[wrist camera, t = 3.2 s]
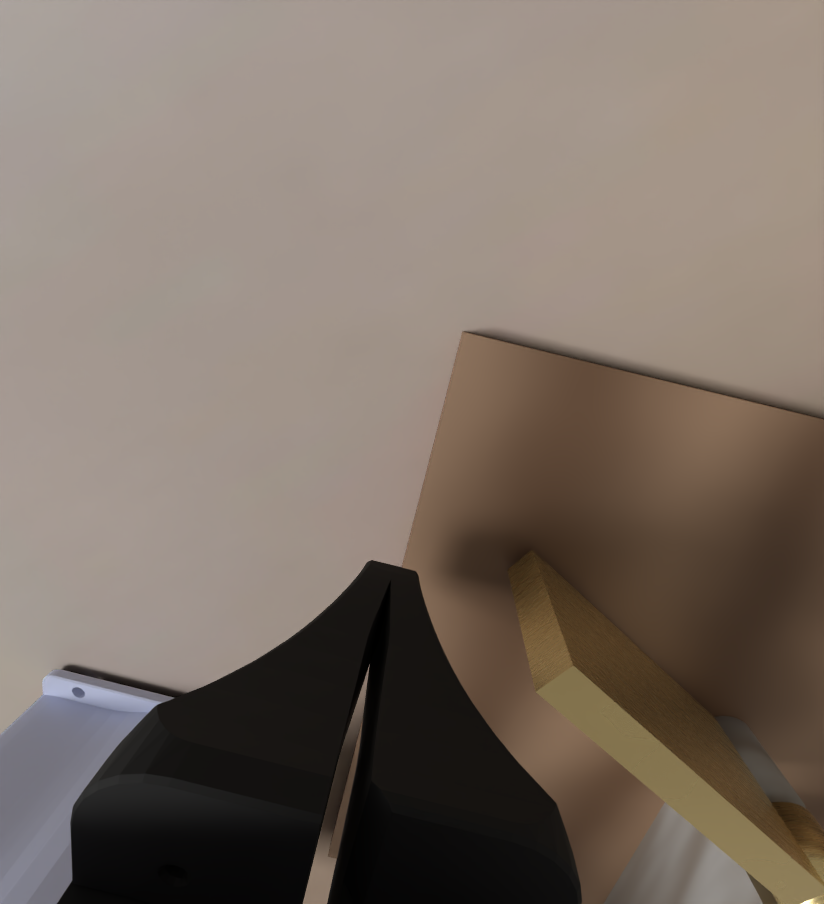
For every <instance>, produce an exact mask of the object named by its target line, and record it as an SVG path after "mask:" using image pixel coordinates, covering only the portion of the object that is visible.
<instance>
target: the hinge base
mask: <svg viewBox="0 0 824 904" xmlns="http://www.w3.org/2000/svg"><path fill="white" fill-rule="evenodd" d="M531 550H533V551H534V552H535V553H537V554H538V555H539V556H540V557H541V558H542V559H543V560H544V561H545V562H546V563H547V564H548V565H550V566H551V567H552V568H553V569H554V570H555V571H556V572H557V573H558V574H559V575H560V576H561V577H563V578H564V579H565V580H566V581H567V582H568V583H569V584H570V585H571V586H572V587H573V588H575V589H576V590H577V591H578V592H579V593H580V594H581V595H582V596H583V597H584V598H585V599H586V600H588V601H589V602H590V603H591V604H592V605H593V606H594V607H595V608H596V609H597V610H598V611H599V612H601V613H602V614H603V615H604V616H605V617H606V618H607V619H608V620H609V621H610V622H611V623H612V624H614V625H615V626H616V627H617V628H618V629H619V630H620V631H621V632H622V633H623V634H624V635H626V636H627V637H628V638H629V639H630V640H631V641H632V642H633V643H634V644H635V645H636V646H637V647H639V648H640V649H641V650H642V651H643V652H644V653H645V654H646V655H647V656H648V657H649V658H650V659H652V660H653V661H654V662H655V663H656V664H657V665H658V666H659V667H660V668H661V669H662V670H663V671H665V672H666V673H667V674H668V675H669V676H670V677H671V678H672V679H673V680H674V681H675V682H677V683H678V684H679V685H680V686H681V687H682V688H683V689H684V690H685V691H686V692H687V693H688V694H690V695H691V696H692V697H693V698H694V699H695V700H696V701H697V702H698V703H699V704H700V705H701V706H703V707H704V708H705V709H706V710H707V711H708V712H709V713H710V714H711V715H712V716H713V717H714V718H716V720H717V721H718V723H719V724H720V726H721V727H722V729H723V730H724V732H725V733H726V735H727V736H728V738H729V739H730V741H731V742H732V744H733V746H734V747H735V749H736V750H737V752H738V753H739V755H740V756H741V758H742V759H743V761H744V762H745V764H746V765H747V767H748V768H749V770H750V771H751V773H752V774H753V776H754V777H755V779H756V780H757V782H758V783H759V785H760V786H761V788H762V789H763V791H764V792H765V794H766V796H767V797H768V799H769V800H770V802H790V803H795V804H798V805H800V806H803V807H804V808H806V809H807V810H809V811H810V813H811V814H812V815H813V816H814V818H815V819H816V821H817V822H818V823H819V825H820V826H821V827H822V829H823V830H824V419H822V418H818V417H814V416H809V415H805V414H801V413H797V412H793V411H789V410H785V409H781V408H777V407H772V406H768V405H764V404H760V403H756V402H752V401H748V400H744V399H740V398H735V397H731V396H727V395H723V394H719V393H715V392H711V391H707V390H703V389H698V388H694V387H690V386H686V385H682V384H678V383H674V382H670V381H666V380H661V379H657V378H653V377H649V376H645V375H641V374H637V373H633V372H629V371H624V370H620V369H616V368H612V367H608V366H604V365H600V364H596V363H591V362H587V361H583V360H579V359H575V358H571V357H567V356H563V355H559V354H554V353H550V352H546V351H542V350H538V349H534V348H530V347H526V346H522V345H517V344H513V343H509V342H505V341H501V340H497V339H493V338H489V337H485V336H480V335H476V334H472V333H468V332H464V331H463V332H462V336H461V340H460V344H459V348H458V351H457V355H456V359H455V363H454V367H453V371H452V375H451V379H450V382H449V386H448V390H447V394H446V398H445V402H444V406H443V410H442V413H441V417H440V421H439V425H438V429H437V433H436V437H435V440H434V444H433V448H432V452H431V456H430V460H429V464H428V468H427V471H426V475H425V479H424V483H423V487H422V491H421V495H420V499H419V502H418V506H417V510H416V514H415V518H414V522H413V526H412V530H411V533H410V537H409V541H408V545H407V549H406V553H405V557H404V561H403V564H402V568H406V569H410V570H414V571H416V572H417V574H418V575H419V581H420V586H421V590H422V594H423V597H424V601H425V604H426V607H427V610H428V613H429V616H430V619H431V621H432V624H433V627H434V629H435V632H436V634H437V637H438V639H439V641H440V644H441V646H442V648H443V650H444V652H445V655H446V657H447V659H448V661H449V663H450V665H451V667H452V668H453V670H454V672H455V674H456V676H457V678H458V679H459V681H460V683H461V685H462V686H463V688H464V690H465V691H466V693H467V694H468V696H469V698H470V699H471V701H472V703H473V704H474V705H475V707H476V708H477V710H478V711H479V712H480V714H481V715H482V717H483V718H484V720H485V721H486V722H487V724H488V725H489V727H490V728H491V729H492V731H493V732H494V733H495V735H496V736H497V737H498V738H499V740H500V741H501V742H502V743H503V744H504V746H505V747H506V748H507V749H508V751H509V752H510V753H511V754H512V755H513V757H514V758H515V759H516V760H517V761H518V763H519V764H520V765H521V766H522V767H523V768H524V769H525V770H526V771H527V772H528V773H529V774H530V775H531V776H532V778H533V779H534V780H535V781H536V782H537V783H538V784H539V785H540V786H541V787H542V788H543V789H544V790H545V791H546V792H547V794H548V795H549V796H550V797H551V798H552V799H553V800H554V801H555V802H556V803H557V806H558V809H559V812H560V815H561V818H562V821H563V823H564V826H565V829H566V832H567V835H568V838H569V842H570V845H571V848H572V851H573V855H574V858H575V863H576V867H577V871H578V876H579V880H580V884H581V895H582V904H778V903H777V901H776V900H775V898H774V896H773V894H772V893H771V892H770V891H769V890H768V889H767V888H765V887H764V886H763V885H762V884H761V883H760V882H758V881H757V880H756V879H755V878H754V877H753V876H751V875H750V874H749V873H748V872H747V871H746V870H744V869H743V868H742V867H741V866H740V865H738V864H737V863H736V862H735V861H734V860H733V859H731V858H730V857H729V856H728V855H727V854H726V853H724V852H723V851H722V850H721V849H720V848H718V847H717V846H716V845H715V844H714V843H713V842H711V841H710V840H709V839H708V838H707V837H706V836H704V835H703V834H702V833H701V832H700V831H698V830H697V829H696V828H695V827H694V826H693V825H691V824H690V823H689V822H688V821H687V820H686V819H684V818H683V817H682V816H681V815H680V814H678V813H677V812H676V811H675V810H674V809H673V808H671V807H670V806H669V805H668V804H667V803H666V802H664V801H663V800H662V799H661V798H660V797H659V796H657V795H656V794H655V793H654V792H653V791H651V790H650V789H649V788H648V787H647V786H646V785H644V784H643V783H642V782H641V781H640V780H639V779H637V778H636V777H635V776H634V775H633V774H631V773H630V772H629V771H628V770H627V769H626V768H624V767H623V766H622V765H621V764H620V763H619V762H617V761H616V760H615V759H614V758H613V757H611V756H610V755H609V754H608V753H607V752H606V751H604V750H603V749H602V748H601V747H600V746H599V745H597V744H596V743H595V742H594V741H593V740H591V739H590V738H589V737H588V736H587V735H586V734H584V733H583V732H582V731H581V730H580V729H579V728H577V727H576V726H575V725H574V724H573V723H572V722H570V721H569V720H568V719H567V718H566V717H564V716H563V715H562V714H561V713H560V712H559V711H557V710H556V709H555V708H554V707H553V706H552V705H550V704H549V703H548V702H547V701H546V700H544V699H543V698H542V697H541V696H540V695H539V694H537V693H536V692H535V687H534V683H533V679H532V674H531V670H530V666H529V661H528V657H527V653H526V648H525V644H524V640H523V635H522V631H521V627H520V622H519V618H518V614H517V609H516V605H515V601H514V596H513V592H512V588H511V583H510V579H509V575H508V569H509V568H510V567H511V566H513V565H514V564H515V563H516V562H517V561H519V560H520V559H521V558H522V557H524V556H525V555H526V554H527V553H528V552H530V551H531ZM362 722H363V719H362ZM361 730H362V723H361V727H360V731H359V735H358V739H357V743H356V746H355V750H354V754H353V758H352V762H351V766H350V770H349V774H348V777H347V781H346V785H345V789H344V793H343V797H342V801H341V805H340V808H339V812H338V816H337V820H336V824H335V828H334V832H333V836H332V840H331V845H330V849H329V854H328V856H329V857H333V858H337V856H338V851H339V846H340V842H341V837H342V832H343V828H344V823H345V818H346V814H347V809H348V804H349V799H350V795H351V790H352V785H353V780H354V776H355V771H356V765H357V759H358V753H359V746H360V738H361Z"/></svg>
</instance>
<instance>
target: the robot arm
mask: <svg viewBox="0 0 824 904" xmlns="http://www.w3.org/2000/svg"><path fill="white" fill-rule="evenodd" d="M369 664H370V667H369ZM368 667H369V675H368V683H367V690H366V698H365V706H364V714H363V722H362V730H361V738H360V746H359V753H358V759H357V765H356V771H355V776H354V780H353V785H352V790H351V795H350V799H349V804H348V809H347V814H346V818H345V823H344V828H343V832H342V837H341V842H340V846H339V851H338V856H337V861H336V865H335V870H334V875H333V879H332V884H331V889H330V893H329V898H328V903H327V904H582V895H581V884H580V880H579V876H578V871H577V867H576V863H575V858H574V855H573V851H572V848H571V845H570V842H569V838H568V835H567V832H566V829H565V826H564V823H563V821H562V818H561V815H560V812H559V809H558V806H557V803H556V802H555V801H554V800H553V799H552V798H551V797H550V796H549V795H548V794H547V792H546V791H545V790H544V789H543V788H542V787H541V786H540V785H539V784H538V783H537V782H536V781H535V780H534V779H533V778H532V776H531V775H530V774H529V773H528V772H527V771H526V770H525V769H524V768H523V767H522V766H521V765H520V764H519V763H518V761H517V760H516V759H515V758H514V757H513V755H512V754H511V753H510V752H509V751H508V749H507V748H506V747H505V746H504V744H503V743H502V742H501V741H500V740H499V738H498V737H497V736H496V735H495V733H494V732H493V731H492V729H491V728H490V727H489V725H488V724H487V722H486V721H485V720H484V718H483V717H482V715H481V714H480V712H479V711H478V710H477V708H476V707H475V705H474V704H473V703H472V701H471V699H470V698H469V696H468V694H467V693H466V691H465V690H464V688H463V686H462V685H461V683H460V681H459V679H458V678H457V676H456V674H455V672H454V670H453V668H452V667H451V665H450V663H449V661H448V659H447V657H446V655H445V652H444V650H443V648H442V646H441V644H440V641H439V639H438V637H437V634H436V632H435V629H434V627H433V624H432V621H431V619H430V616H429V613H428V610H427V607H426V604H425V601H424V597H423V594H422V590H421V586H420V581H419V575H418V574H417V572H416V571H414V570H410V569H406V568H402V567H398V566H394V565H390V564H385V563H381V562H377V561H373V560H371V561H369V562H367V563H366V565H365V566H364V568H363V569H362V571H361V572H360V573H359V575H358V576H357V577H356V578H355V580H354V581H353V582H352V583H351V584H350V585H349V587H348V588H347V589H346V590H345V591H344V592H343V593H342V594H341V595H340V596H339V597H338V598H337V599H336V600H335V601H334V602H333V603H332V604H331V605H330V606H329V607H327V608H326V609H325V610H324V611H323V612H322V613H321V614H320V615H319V616H317V617H316V618H315V619H314V620H313V621H312V622H310V623H309V624H308V625H307V626H305V627H304V628H303V629H301V630H300V631H299V632H297V633H296V634H295V635H293V636H292V637H291V638H289V639H288V640H286V641H285V642H283V643H282V644H280V645H279V646H277V647H276V648H274V649H273V650H271V651H270V652H268V653H266V654H265V655H263V656H262V657H260V658H258V659H257V660H255V661H253V662H251V663H250V664H248V665H246V666H244V667H242V668H240V669H238V670H236V671H234V672H232V673H230V674H228V675H226V676H224V677H223V678H221V679H219V680H217V681H215V682H212V683H210V684H208V685H206V686H204V687H201V688H199V689H196V690H194V691H191V692H189V693H186V694H184V695H181V696H179V697H176V698H174V697H170V696H166V695H162V694H158V693H154V692H150V691H146V690H142V689H138V688H134V687H130V686H126V685H122V684H118V683H114V682H110V681H106V680H102V679H98V678H94V677H90V676H86V675H82V674H78V673H73V672H69V671H65V670H60V669H55V670H52V671H51V672H50V673H49V674H48V675H47V676H46V677H45V678H44V679H43V682H42V684H43V695H42V696H41V697H40V698H39V699H38V700H36V701H35V702H34V703H33V704H32V705H31V706H30V707H29V708H28V709H27V710H26V711H25V712H24V713H23V714H22V715H20V716H19V717H18V718H17V719H16V720H15V721H14V722H13V723H12V724H11V725H10V726H9V727H8V728H7V729H6V730H5V731H3V732H2V733H1V734H0V904H303V900H304V896H305V892H306V888H307V884H308V880H309V875H310V871H311V867H312V863H313V859H314V855H315V851H316V847H317V843H318V839H319V835H320V831H321V827H322V823H323V819H324V815H325V810H326V806H327V802H328V798H329V794H330V790H331V786H332V782H333V778H334V774H335V770H336V766H337V762H338V759H339V755H340V752H341V749H342V745H343V742H344V739H345V736H346V733H347V730H348V727H349V724H350V721H351V718H352V715H353V712H354V709H355V706H356V703H357V700H358V697H359V694H360V691H361V688H362V685H363V682H364V679H365V676H366V673H367V670H368Z"/></svg>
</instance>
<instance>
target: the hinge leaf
mask: <svg viewBox="0 0 824 904" xmlns="http://www.w3.org/2000/svg"><path fill="white" fill-rule="evenodd" d="M508 575H509V579H510V583H511V588H512V592H513V596H514V601H515V605H516V609H517V614H518V618H519V622H520V627H521V631H522V635H523V640H524V644H525V648H526V653H527V657H528V661H529V666H530V670H531V674H532V679H533V683H534V687H535V692H536V693H537V694H539V695H540V696H541V697H542V698H543V699H544V700H546V701H547V702H548V703H549V704H550V705H552V706H553V707H554V708H555V709H556V710H557V711H559V712H560V713H561V714H562V715H563V716H564V717H566V718H567V719H568V720H569V721H570V722H572V723H573V724H574V725H575V726H576V727H577V728H579V729H580V730H581V731H582V732H583V733H584V734H586V735H587V736H588V737H589V738H590V739H591V740H593V741H594V742H595V743H596V744H597V745H599V746H600V747H601V748H602V749H603V750H604V751H606V752H607V753H608V754H609V755H610V756H611V757H613V758H614V759H615V760H616V761H617V762H619V763H620V764H621V765H622V766H623V767H624V768H626V769H627V770H628V771H629V772H630V773H631V774H633V775H634V776H635V777H636V778H637V779H639V780H640V781H641V782H642V783H643V784H644V785H646V786H647V787H648V788H649V789H650V790H651V791H653V792H654V793H655V794H656V795H657V796H659V797H660V798H661V799H662V800H663V801H664V802H666V803H667V804H668V805H669V806H670V807H671V808H673V809H674V810H675V811H676V812H677V813H678V814H680V815H681V816H682V817H683V818H684V819H686V820H687V821H688V822H689V823H690V824H691V825H693V826H694V827H695V828H696V829H697V830H698V831H700V832H701V833H702V834H703V835H704V836H706V837H707V838H708V839H709V840H710V841H711V842H713V843H714V844H715V845H716V846H717V847H718V848H720V849H721V850H722V851H723V852H724V853H726V854H727V855H728V856H729V857H730V858H731V859H733V860H734V861H735V862H736V863H737V864H738V865H740V866H741V867H742V868H743V869H744V870H746V871H747V872H748V873H749V874H750V875H751V876H753V877H754V878H755V879H756V880H757V881H758V882H760V883H761V884H762V885H763V886H764V887H765V888H767V889H768V890H769V891H770V892H771V893H772V894H773V896H774V898H775V900H776V901H777V903H778V904H824V830H823V829H822V827H821V826H820V825H819V823H818V822H817V821H816V819H815V818H814V816H813V815H812V814H811V813H810V811H809V810H807V809H806V808H804V807H803V806H800V805H798V804H795V803H790V802H770V800H769V799H768V797H767V796H766V794H765V792H764V791H763V789H762V788H761V786H760V785H759V783H758V782H757V780H756V779H755V777H754V776H753V774H752V773H751V771H750V770H749V768H748V767H747V765H746V764H745V762H744V761H743V759H742V758H741V756H740V755H739V753H738V752H737V750H736V749H735V747H734V746H733V744H732V742H731V741H730V739H729V738H728V736H727V735H726V733H725V732H724V730H723V729H722V727H721V726H720V724H719V723H718V721H717V720H716V718H714V717H713V716H712V715H711V714H710V713H709V712H708V711H707V710H706V709H705V708H704V707H703V706H701V705H700V704H699V703H698V702H697V701H696V700H695V699H694V698H693V697H692V696H691V695H690V694H688V693H687V692H686V691H685V690H684V689H683V688H682V687H681V686H680V685H679V684H678V683H677V682H675V681H674V680H673V679H672V678H671V677H670V676H669V675H668V674H667V673H666V672H665V671H663V670H662V669H661V668H660V667H659V666H658V665H657V664H656V663H655V662H654V661H653V660H652V659H650V658H649V657H648V656H647V655H646V654H645V653H644V652H643V651H642V650H641V649H640V648H639V647H637V646H636V645H635V644H634V643H633V642H632V641H631V640H630V639H629V638H628V637H627V636H626V635H624V634H623V633H622V632H621V631H620V630H619V629H618V628H617V627H616V626H615V625H614V624H612V623H611V622H610V621H609V620H608V619H607V618H606V617H605V616H604V615H603V614H602V613H601V612H599V611H598V610H597V609H596V608H595V607H594V606H593V605H592V604H591V603H590V602H589V601H588V600H586V599H585V598H584V597H583V596H582V595H581V594H580V593H579V592H578V591H577V590H576V589H575V588H573V587H572V586H571V585H570V584H569V583H568V582H567V581H566V580H565V579H564V578H563V577H561V576H560V575H559V574H558V573H557V572H556V571H555V570H554V569H553V568H552V567H551V566H550V565H548V564H547V563H546V562H545V561H544V560H543V559H542V558H541V557H540V556H539V555H538V554H537V553H535V552H534V551H533V550H531V551H530V552H528V553H527V554H526V555H525V556H524V557H522V558H521V559H520V560H519V561H517V562H516V563H515V564H514V565H513V566H511V567H510V568H509V569H508Z"/></svg>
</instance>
